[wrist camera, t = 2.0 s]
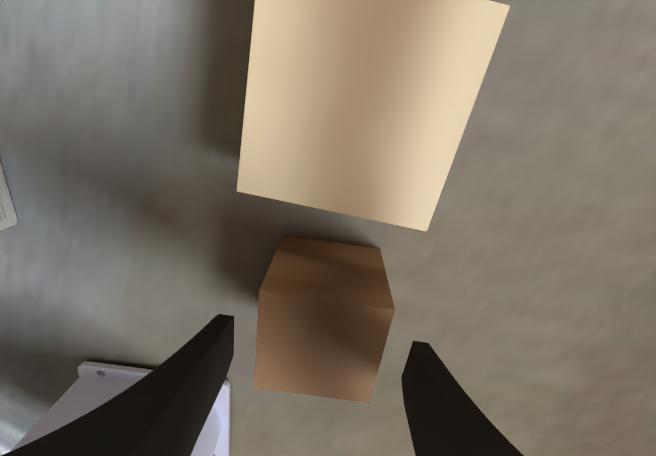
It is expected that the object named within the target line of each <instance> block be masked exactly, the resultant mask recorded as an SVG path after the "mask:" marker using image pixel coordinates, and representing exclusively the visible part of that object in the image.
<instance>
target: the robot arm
mask: <svg viewBox="0 0 656 456" xmlns="http://www.w3.org/2000/svg"><path fill="white" fill-rule="evenodd" d="M233 353H234V316H229V315H222V314H218V315H217V316H215V317H214V318H213V319H212V320H211V321H210V322H209V323H208V324H207V325H206V326H205V327H204V328H203V329H202V330H201V331H200V332H198V333H197V334H196V335H195V336H194V337H193V338H192V339H191V340H190V341H188V342H187V343H186V344H185V345H184V346H183V347H181V348H180V349H179V350H178V351H177V352H176V353H174V354H173V355H172V356H171V357H169V358H168V359H167V360H166V361H164V362H163V363H162V364H161V365H159V366H158V367H157V368H156V369H154V370H150V369H143V368H135V367H128V366H120V365H112V364H105V363H97V362H90V361H85V362H82V363H81V364H80V365H79V367H78V374H79V378H78V379H77V380H76V381H75V382H74V383H73V384H72V386H71V387H70V388H69V389H68V390H67V391H66V392H65V393H64V394H63V395H62V396H61V397H60V398H59V400H58V401H57V402H56V403H55V404H54V405H53V406H52V407H51V408H50V409H49V410H48V411H47V412H46V414H45V415H44V416H43V417H42V418H41V419H40V420H39V421H38V422H37V423H36V424H35V425H34V426H33V428H32V429H31V430H30V431H29V432H28V433H27V434H26V435H25V436H24V437H23V438H22V439H21V440H20V442H19V443H18V444H17V445H16V446H15V447H14V448H13V449H12V450H11V451H10V452H9V453H6V454H4V455H2V456H229V430H230V384H229V382H228V381H226V380H225V378H226V376H227V373H228V370H229V367H230V364H231V361H232V358H233ZM401 379H402V389H403V398H404V406H405V410H406V415H407V419H408V424H409V428H410V433H411V437H412V442H413V446H414V450H415V455H416V456H523V455H522V454H521V453H520V452H519V451H518V450H517V449H516V448H515V447H514V446H513V445H512V444H511V443H510V442H509V441H508V440H507V439H506V438H505V437H504V436H503V435H502V434H501V433H500V431H499V430H498V429H497V428H496V427H495V426H494V425H493V424H492V423H491V422H490V421H489V420H488V419H487V418H486V416H485V415H484V414H483V413H482V412H481V411H480V409H479V408H478V407H477V406H476V405H475V404H474V402H473V401H472V400H471V399H470V398H469V396H468V395H467V394H466V393H465V391H464V390H463V389H462V388H461V386H460V385H459V384H458V382H457V381H456V380H455V379H454V377H453V376H452V375H451V373H450V372H449V371H448V369H447V368H446V366H445V365H444V364H443V362H442V361H441V360H440V358H439V357H438V356H437V354H436V353H435V351H434V350H433V349H432V347H431V346H430V345H429V343H425V342H417V341H413V343H412V346H411V349H410V352H409V356H408V359H407V362H406V365H405V368H404V371H403V374H402V377H401Z"/></svg>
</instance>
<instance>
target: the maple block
mask: <svg viewBox="0 0 656 456" xmlns="http://www.w3.org/2000/svg"><path fill="white" fill-rule="evenodd" d="M509 8H510V6H509V5H505V4H501V3H497V2H493V1H489V0H255V6H254V16H253V26H252V37H251V47H250V58H249V68H248V79H247V89H246V99H245V110H244V120H243V131H242V141H241V151H240V162H239V172H238V183H237V191H238V192H243V193H247V194H252V195H257V196H261V197H266V198H271V199H276V200H280V201H285V202H290V203H295V204H299V205H304V206H309V207H314V208H318V209H323V210H328V211H332V212H337V213H342V214H347V215H351V216H356V217H361V218H366V219H370V220H375V221H380V222H384V223H389V224H394V225H399V226H403V227H408V228H413V229H418V230H422V231H427V229H428V226H429V224H430V221H431V218H432V215H433V213H434V210H435V207H436V205H437V202H438V199H439V197H440V194H441V191H442V188H443V186H444V183H445V180H446V178H447V175H448V172H449V170H450V167H451V164H452V161H453V159H454V156H455V153H456V151H457V148H458V145H459V143H460V140H461V137H462V134H463V132H464V129H465V126H466V124H467V121H468V118H469V116H470V113H471V110H472V107H473V105H474V102H475V99H476V97H477V94H478V91H479V89H480V86H481V83H482V80H483V78H484V75H485V72H486V70H487V67H488V64H489V62H490V59H491V56H492V53H493V51H494V48H495V45H496V43H497V40H498V37H499V35H500V32H501V29H502V26H503V24H504V21H505V18H506V16H507V13H508V10H509Z"/></svg>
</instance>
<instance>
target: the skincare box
mask: <svg viewBox="0 0 656 456" xmlns="http://www.w3.org/2000/svg"><path fill="white" fill-rule="evenodd" d="M17 221H18V219H17V216H16V213H15V209H14V206H13V203H12V200H11V197H10V193H9V190H8V186H7V183H6V180H5V176H4V173H3V169H2V165H1V162H0V231H2V230H4V229H7V228H9V227H12V226H14V225H16V223H17Z"/></svg>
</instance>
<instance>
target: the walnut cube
mask: <svg viewBox="0 0 656 456" xmlns="http://www.w3.org/2000/svg"><path fill="white" fill-rule="evenodd" d="M394 310H395V309H394V304H393V300H392V296H391V292H390V288H389V284H388V280H387V276H386V272H385V268H384V264H383V260H382V256H381V251H380V248H374V247H367V246H359V245H352V244H345V243H338V242H331V241H324V240H317V239H310V238H302V237H295V236H288V235H283V236H282V238H281V240H280V243H279V245H278V247H277V250H276V252H275V254H274V257H273V259H272V262H271V264H270V266H269V269H268V271H267V273H266V276H265V278H264V280H263V283H262V285H261V288H260V290H259V302H258V320H257V338H256V356H255V374H254V388H262V389H269V390H277V391H284V392H292V393H299V394H307V395H314V396H322V397H329V398H337V399H344V400H352V401H359V402H367V403H369V402H370V398H371V394H372V391H373V387H374V383H375V380H376V376H377V372H378V369H379V365H380V361H381V358H382V354H383V350H384V347H385V343H386V339H387V336H388V332H389V329H390V325H391V321H392V318H393V314H394Z"/></svg>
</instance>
